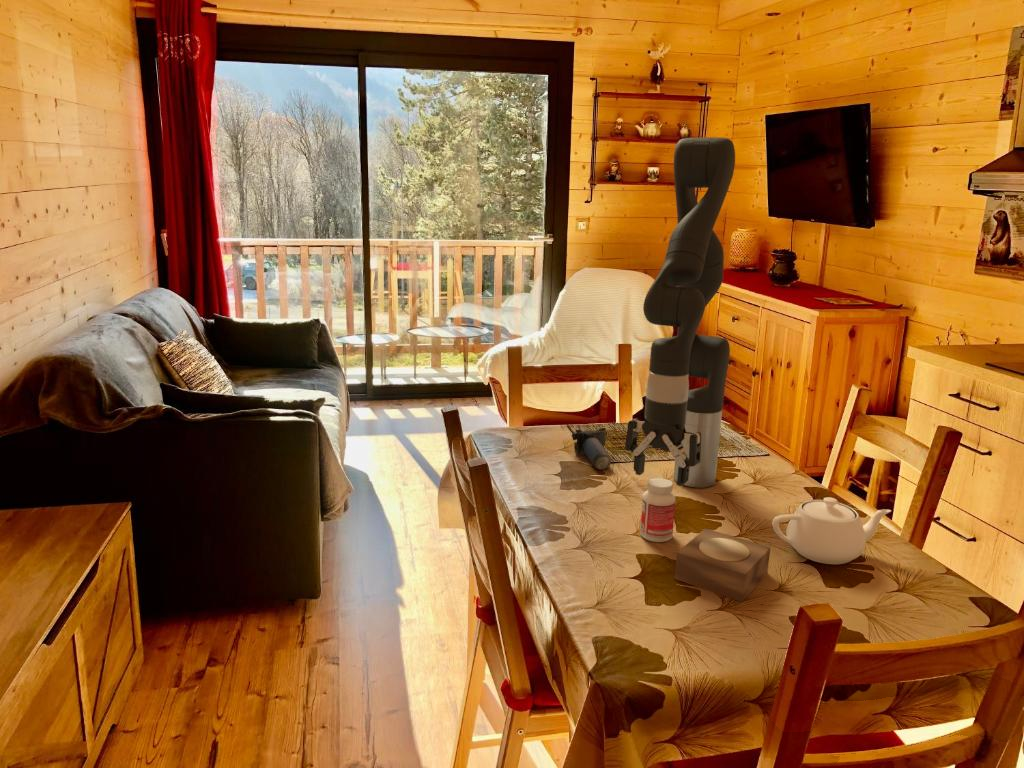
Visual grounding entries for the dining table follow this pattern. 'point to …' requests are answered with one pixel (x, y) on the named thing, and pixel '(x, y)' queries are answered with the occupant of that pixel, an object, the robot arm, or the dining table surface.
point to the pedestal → (722, 564)
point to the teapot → (828, 531)
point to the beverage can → (592, 447)
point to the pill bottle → (658, 511)
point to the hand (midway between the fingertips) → (659, 479)
